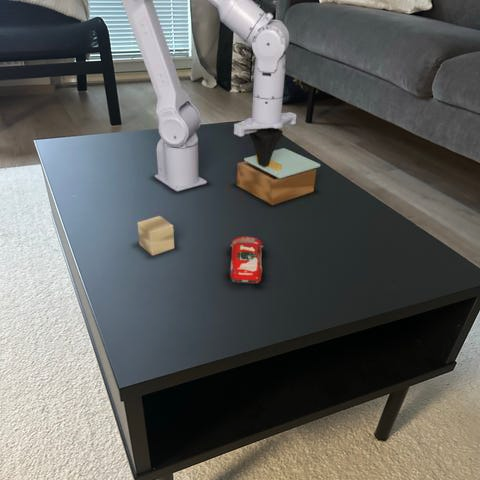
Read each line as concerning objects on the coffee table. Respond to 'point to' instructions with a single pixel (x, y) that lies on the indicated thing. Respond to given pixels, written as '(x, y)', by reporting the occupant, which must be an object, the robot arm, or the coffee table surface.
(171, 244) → the block
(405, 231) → the coffee table surface
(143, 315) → the coffee table surface
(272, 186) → the case
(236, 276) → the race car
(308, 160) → the lid with orange handle
